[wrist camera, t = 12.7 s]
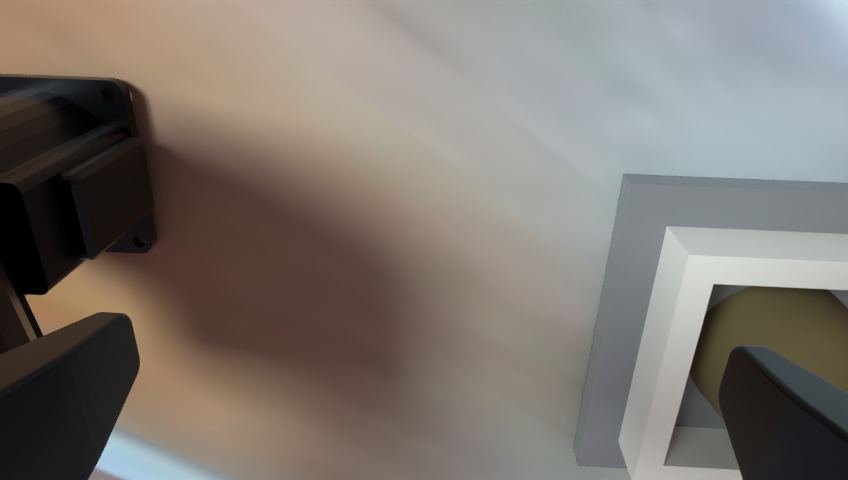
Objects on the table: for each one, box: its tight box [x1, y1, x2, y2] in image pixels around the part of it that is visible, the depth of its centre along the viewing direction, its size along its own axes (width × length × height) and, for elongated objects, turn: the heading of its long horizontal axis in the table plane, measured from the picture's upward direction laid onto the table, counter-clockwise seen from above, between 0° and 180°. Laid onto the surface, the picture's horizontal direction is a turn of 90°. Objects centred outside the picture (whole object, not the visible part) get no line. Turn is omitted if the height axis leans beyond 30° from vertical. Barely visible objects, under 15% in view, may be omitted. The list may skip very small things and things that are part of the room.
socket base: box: [574, 174, 848, 480], centre depth 22 cm, size 13×13×3 cm
